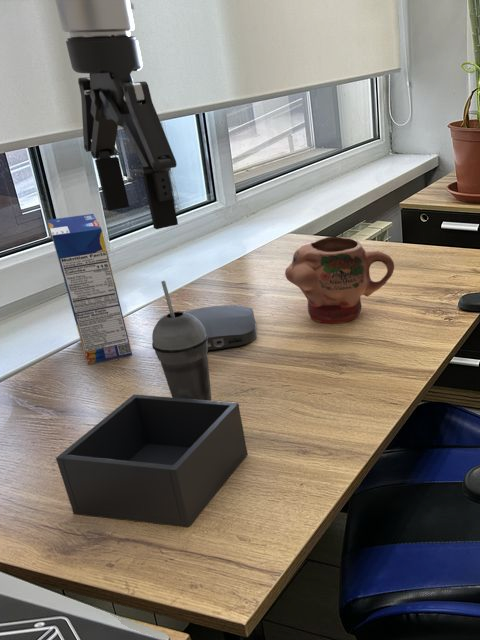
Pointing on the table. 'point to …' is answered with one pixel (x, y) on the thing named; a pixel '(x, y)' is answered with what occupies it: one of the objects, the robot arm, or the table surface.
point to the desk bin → (154, 460)
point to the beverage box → (90, 287)
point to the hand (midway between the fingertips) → (141, 217)
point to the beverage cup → (183, 353)
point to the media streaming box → (226, 325)
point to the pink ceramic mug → (335, 277)
